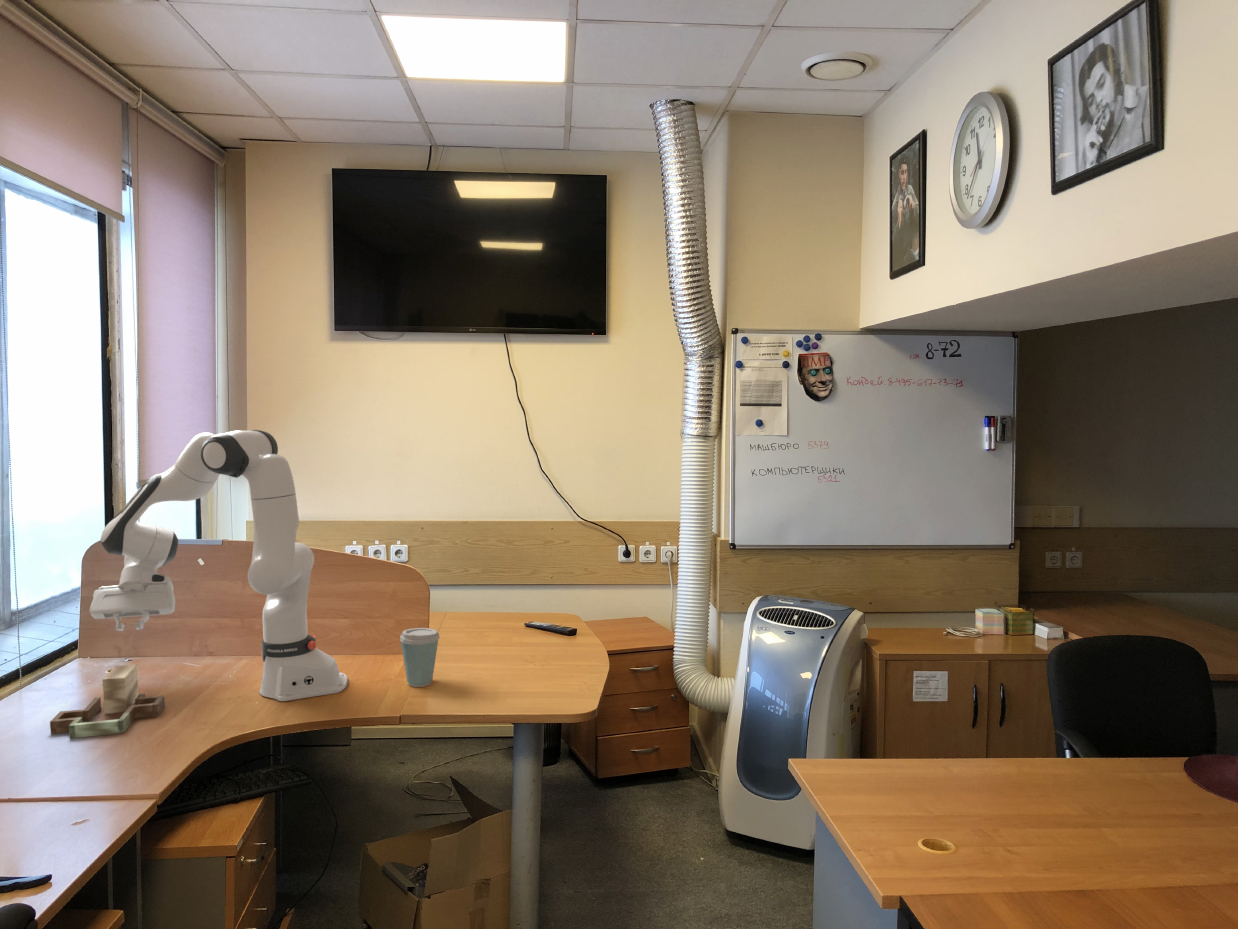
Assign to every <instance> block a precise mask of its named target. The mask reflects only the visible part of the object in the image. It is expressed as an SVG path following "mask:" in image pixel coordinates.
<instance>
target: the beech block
mask: <svg viewBox="0 0 1238 929" xmlns="http://www.w3.org/2000/svg"><path fill="white" fill-rule="evenodd" d="M101 681H102V691H103V706H104V707H103V708H104V714H106V715H108V714H109V715H110V714H117V713H118V714H119V713H125V711H126V710H127V709H128V708H129V706H130V705H135V699H136V698H137V696H138V695H139V681H138V665H137V664H128V665H115V666H114V667H113V668H112V669H111V670H110V671H109V672H107V674H106V675H105V676H104V678H103V679H102V680H101Z"/></svg>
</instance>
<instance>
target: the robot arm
mask: <svg viewBox="0 0 1238 929" xmlns="http://www.w3.org/2000/svg"><path fill="white" fill-rule="evenodd" d="M278 452H279V447H278V442H277V441H276V439H275V437H274V436H273V435H272V434H271V433H269V432H267V431H264V430H260V429H259V430H258V429H252V430H232V431H227V432H224V433H223V432H222V433H217V434H215V433H211V432H200V433H198V434H196V435H195V436H193V438H192V439H191V440H189V442H188V443H187V444H186V446H185V447H184V448H183V450H182V451H181V453H180V454H179V456H178V457H177V459H176V461H175V462H174V463H173V465H172V466H171V467H170V468H168V469H167V470H166V471H165V470H164V472H162V473H156V474H153V475H151V477H149V478H148V479H147V480H146V481H145V483H143V484H142V486H141V487H140V488H138V490H137V491H136V493H134V495H133V496H132V497H131V498H130V499H129V501H128V502H127V503H126V504H125V506H123V508H122V509H121V510H120V511H119V513H117V515H115V516H114V517H113V518H112V519H111V520H109V522H108V523H107V524H106V525H105V527H104V529H103V530H102V532H101V537H100V543H101V546H102V547H103V548H104V550H105V551H106V552H107V553H108V554H110V555H115V556H124V558H123V564H124V567H123V569H122V570H121V572H120V577H119V582H118V583H119V584H117V585H108V586H106V585H105V586H103V585H102V586H101V587H98V588H97V589H96V590H94V591H93V594H92V601H91V604H90V607H89V609H88V610H89V614H90V615H91V617H92V618H93V619H95V620H100V619H101V620H103V619H114V621H115V631H117V632H122V631H124V628H125V623H124V622H123V621H121V620H122V618H130V617H141V618H140V619H139V620H136V621H135V626H134V627H135V630H143V629H144V624H146V622H148V621H149V620H150V616H160V615H172V614H173V613H174V612H175V610H176V596H175V593H174V589H175V588H174V584H173V582H172V580H171V577H170V576H168V575H165V574H160V573H158V572H157V571H158V568H162V567H164V566H166V565H168V564H169V563H170V562H172V561H173V560H174V558H175V556H176V555H177V552H178V551H177V550H178V547H179V539H178V537H177V535H176V533H175V531H174V530H170V529H167V528H165V527H161V526H157V525H151V524H148V523H144V522H140V521H138V520H139V519H140V518H141V517H142V516H143V515H144V513H145V512H146V511H147V510H148V508H150V507H151V506H152V505H154V504H157V503H162V502H175V501H176V502H190V501H195V500H198V499H201V498H202V497H205V496H206V495H207V494H208V493H209V492H210V491H211V490H212V488H213V487H214V485H215V484H216V482H217V480H218V478H219V476H220V475H222V476H223V475H225V476H228V477H230V478H231V477H232V478H237V479H238V478H239V477H241V476H243V477H244V478H246V480H247V482H248V485H249V492H250V493H249V494H250V501H251V508H252V509H251V510H252V519H253V528H254V529H253V530H254V531H253V542H252V543H253V545H252V554H251V555H252V557H251V562H250V565H249V567H248V570H247V581H248V584H249V586H250V587H251V588H252V589H253V591H254V592H256V593H258V594H261V595H266V599H265V603H264V606H263V608H262V615H261V616H262V633H263V634H262V637H263V639H262V641H261V659H262V662H263V670H262V677H261V682H260V684H261V685H260V689H259V694H260V695H261V696H263V697H266V698H270V699H275V700H276V701H279V702H287V701H294V700H300V699H301V700H302V699H305V698H311V697H313V698H314V697H318V696H325V695H332V694H338V693H340V692H342V691H343V690H345V689H346V687H347V686H348V676H347V674H345V673H343V672H340V670H339V666H338V663H337V662H336V660H335V658H334V657H332V656H331V655H329V654H328V653H325V652H324V651H322V650H320V649H318V648H317V639H316V636H315V635H313V636H312V635H310V634H308V617H307V615H308V612H307V611H308V610H307V609H308V606H307V605H308V598H309V590H310V584H311V577H312V576H311V574H312V570H313V567H314V564H315V554H314V553H313V550H312V549H311V547H309V546H308V545H306V544H305V543H302V542H296V539H297V538H296V537H297V533H298V532H297V530H298V527H299V523H300V521H299V520H300V519H299V510H298V501H297V494H296V487H295V482H294V478H293V474H292V470H291V468H290V465H289V462H288V460H287V459H286V458H285V457H284V456H282V455H280V454H278ZM120 621H121V622H120Z"/></svg>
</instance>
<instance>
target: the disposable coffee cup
mask: <svg viewBox="0 0 1238 929" xmlns="http://www.w3.org/2000/svg"><path fill="white" fill-rule="evenodd" d="M439 639H440V633H439V632H438V631H437V630H436V629H434V628H428V627H416V628H408V629H404V630H403V631H402V632H401V634H400V636H399V641H400V645H401V649H402V658H403V664H404V669H405V670H404V671H405V676H406V677H405V678H406V682H407V683H408V685H409V686H411V687H415V688H423V687H427V686H429V685H431V683H432V681H433V678H434V671H435V665H436V658H437V652H438V651H437V650H438V645H439Z"/></svg>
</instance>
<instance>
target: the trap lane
mask: <svg viewBox="0 0 1238 929" xmlns="http://www.w3.org/2000/svg"><path fill="white" fill-rule="evenodd" d="M165 701H166V700H165V695H164V694H163V695H151V696H146V693H143V692H142V693H138V696H137V698H136V699H135V703H134V704H133V705H130V706H129V708H128V709H127V710H126V711H125V712H123V714H122V715H121V716H120V718H119V719H118V718H117V719H108V720H107V719H106V720H97V721H92V719H94V717H95V716H96V715H97V714H98V713H99V712H100V711H101V709H102V699H101V697H100V696H99V697H94V699H93V700H91V702H90V703H89V704H88V705H87V706H86V707H85V708H84V709H75V710H74V709H73V710H62V711H59V712H58V713H57V714H56V715H55V716H54V717H53V718H52V719H51V720H50V722H49V726H50V735H55V734H64V733H69V734H68V735H69V739H73V738H74V739H75V738H84V737H85V738H86V737H94V736H95V737H96V736H104V735H116V734H124V733H125V732H126V731H127V729H128V728H129V726H131V724H132V723H133V722H134V720H135V719H141V718H142V719H143V718H153V717H159V715H160V714H161V713H162V712H163V710H164V709H165V704H166V703H165Z"/></svg>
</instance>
